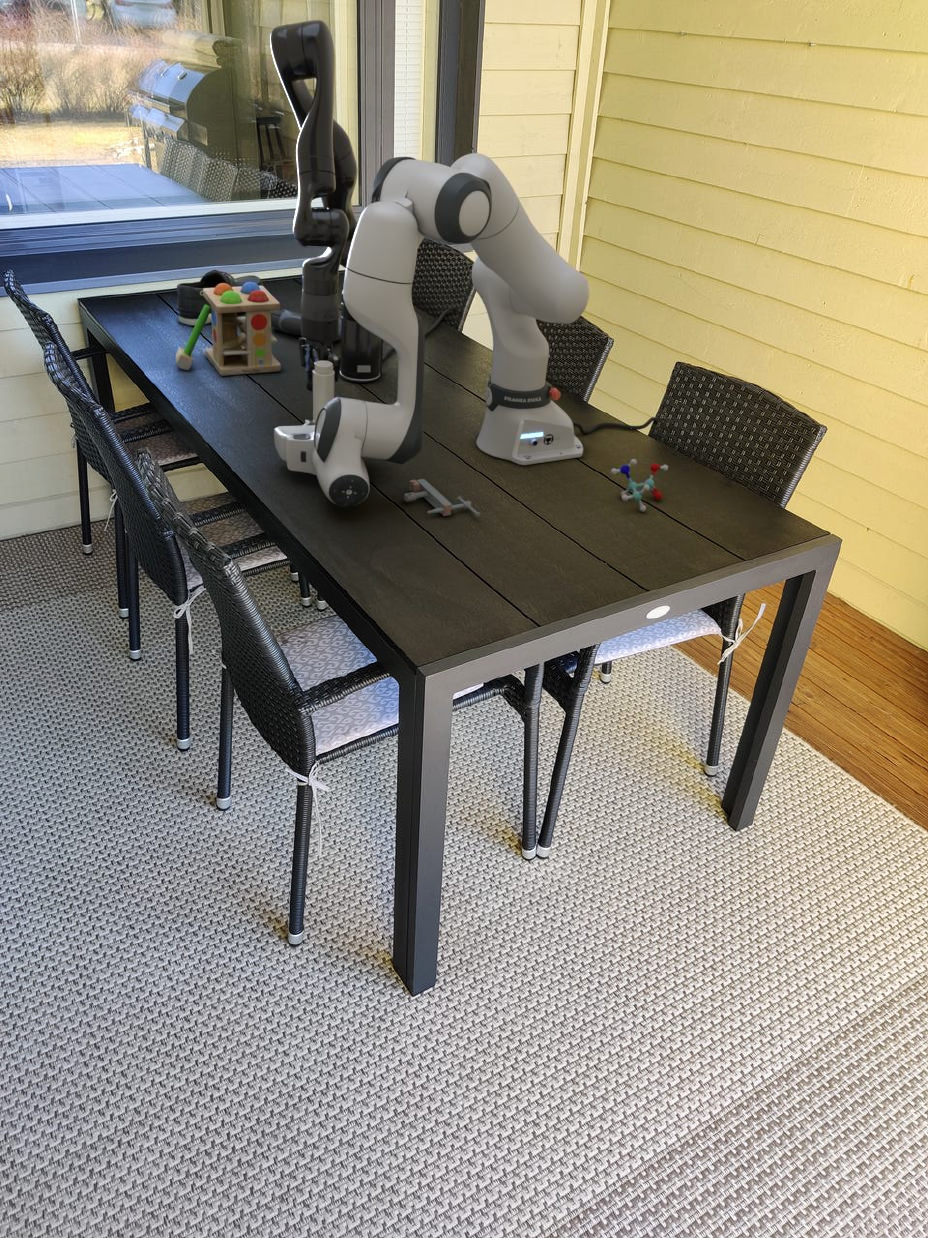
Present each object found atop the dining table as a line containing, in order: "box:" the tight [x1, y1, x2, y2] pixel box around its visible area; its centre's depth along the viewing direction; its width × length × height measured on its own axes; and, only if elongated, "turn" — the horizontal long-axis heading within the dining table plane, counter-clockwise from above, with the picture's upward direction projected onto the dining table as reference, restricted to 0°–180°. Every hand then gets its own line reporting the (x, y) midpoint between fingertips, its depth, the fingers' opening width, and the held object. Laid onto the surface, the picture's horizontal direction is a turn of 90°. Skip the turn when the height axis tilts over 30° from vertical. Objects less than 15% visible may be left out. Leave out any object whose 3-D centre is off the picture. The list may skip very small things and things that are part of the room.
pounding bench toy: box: [174, 282, 282, 377], centre depth 225 cm, size 23×14×18 cm, turn 116°
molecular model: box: [610, 458, 669, 513], centre depth 187 cm, size 12×10×10 cm
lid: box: [306, 377, 313, 393], centre depth 205 cm, size 5×5×2 cm
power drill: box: [271, 308, 341, 342], centre depth 252 cm, size 5×19×20 cm
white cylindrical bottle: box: [312, 361, 336, 425], centre depth 190 cm, size 4×4×19 cm
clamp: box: [403, 478, 481, 518], centre depth 180 cm, size 15×2×10 cm
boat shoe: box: [175, 269, 265, 326], centre depth 261 cm, size 13×33×10 cm, turn 147°
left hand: (318, 394), depth 206 cm, fingers closed on lid, 4 cm apart
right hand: (322, 422), depth 193 cm, fingers closed on white cylindrical bottle, 4 cm apart
